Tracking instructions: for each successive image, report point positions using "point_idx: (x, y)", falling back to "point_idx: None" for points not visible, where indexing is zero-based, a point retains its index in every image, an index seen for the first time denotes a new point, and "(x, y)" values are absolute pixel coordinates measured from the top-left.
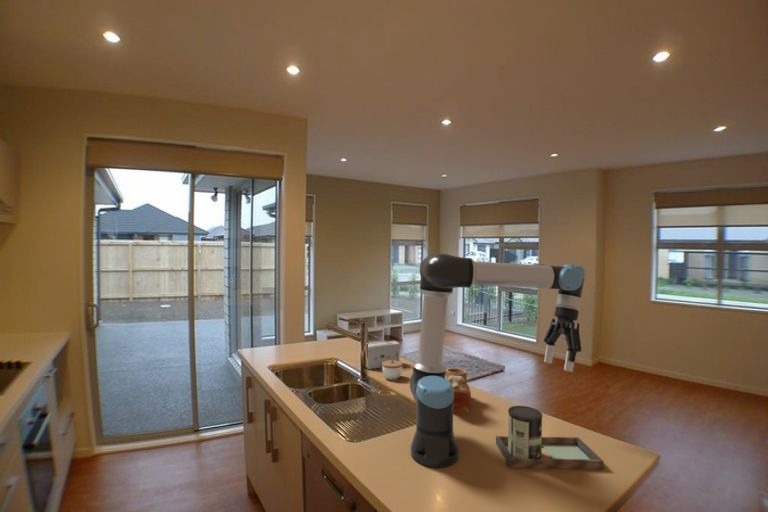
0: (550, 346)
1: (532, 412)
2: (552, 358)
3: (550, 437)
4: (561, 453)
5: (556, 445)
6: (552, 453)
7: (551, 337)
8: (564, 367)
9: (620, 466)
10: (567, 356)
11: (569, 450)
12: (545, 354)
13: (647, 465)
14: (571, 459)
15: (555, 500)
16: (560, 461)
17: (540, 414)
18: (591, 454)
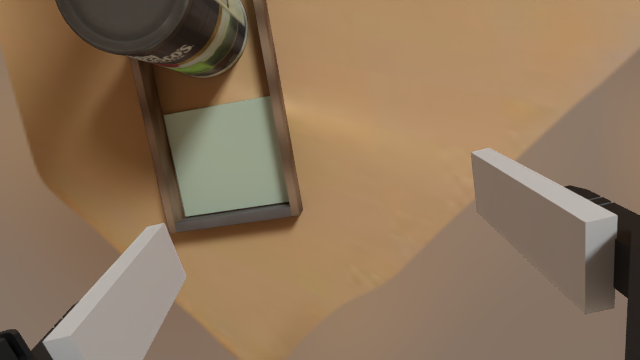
0: (573, 253)
1: (128, 13)
2: (498, 230)
3: (278, 124)
4: (231, 141)
5: (276, 140)
6: (225, 114)
7: (629, 328)
8: (154, 233)
9: (205, 276)
10: (82, 298)
11: (254, 170)
12: (522, 170)
13: (225, 344)
14: (156, 148)
15: (22, 65)
16: (144, 115)
17: (111, 45)
18: (208, 217)
